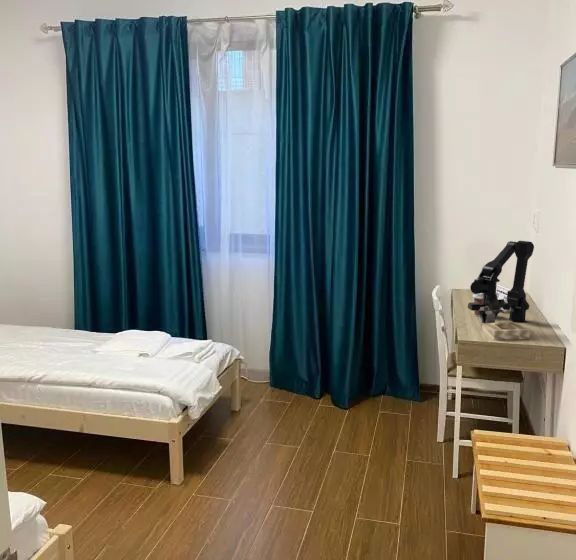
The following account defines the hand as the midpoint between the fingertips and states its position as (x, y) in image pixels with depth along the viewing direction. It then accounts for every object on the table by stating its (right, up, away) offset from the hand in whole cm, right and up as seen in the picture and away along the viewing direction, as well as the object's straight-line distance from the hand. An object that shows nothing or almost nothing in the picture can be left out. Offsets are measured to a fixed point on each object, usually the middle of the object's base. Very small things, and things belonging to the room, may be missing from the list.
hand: (488, 323), depth 291 cm
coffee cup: (+4, +2, +22) cm, 23 cm away
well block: (+3, -4, -14) cm, 15 cm away
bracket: (0, -2, -1) cm, 2 cm away
